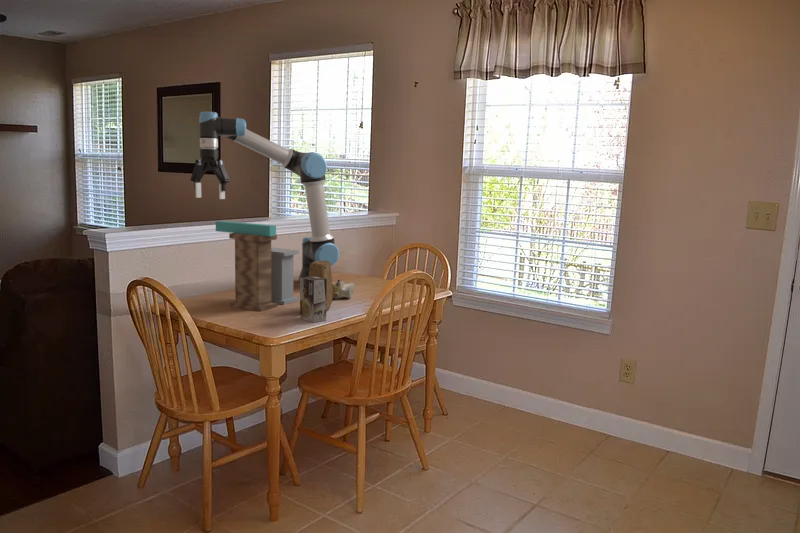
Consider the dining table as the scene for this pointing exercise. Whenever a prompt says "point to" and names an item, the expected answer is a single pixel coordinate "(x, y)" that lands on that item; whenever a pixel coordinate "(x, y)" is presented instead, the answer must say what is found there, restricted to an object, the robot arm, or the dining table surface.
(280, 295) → the low stand
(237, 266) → the tall stand
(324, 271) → the brown bread chunk
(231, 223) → the bar
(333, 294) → the ceramic sculpture
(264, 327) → the dining table surface
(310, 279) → the coffee box
